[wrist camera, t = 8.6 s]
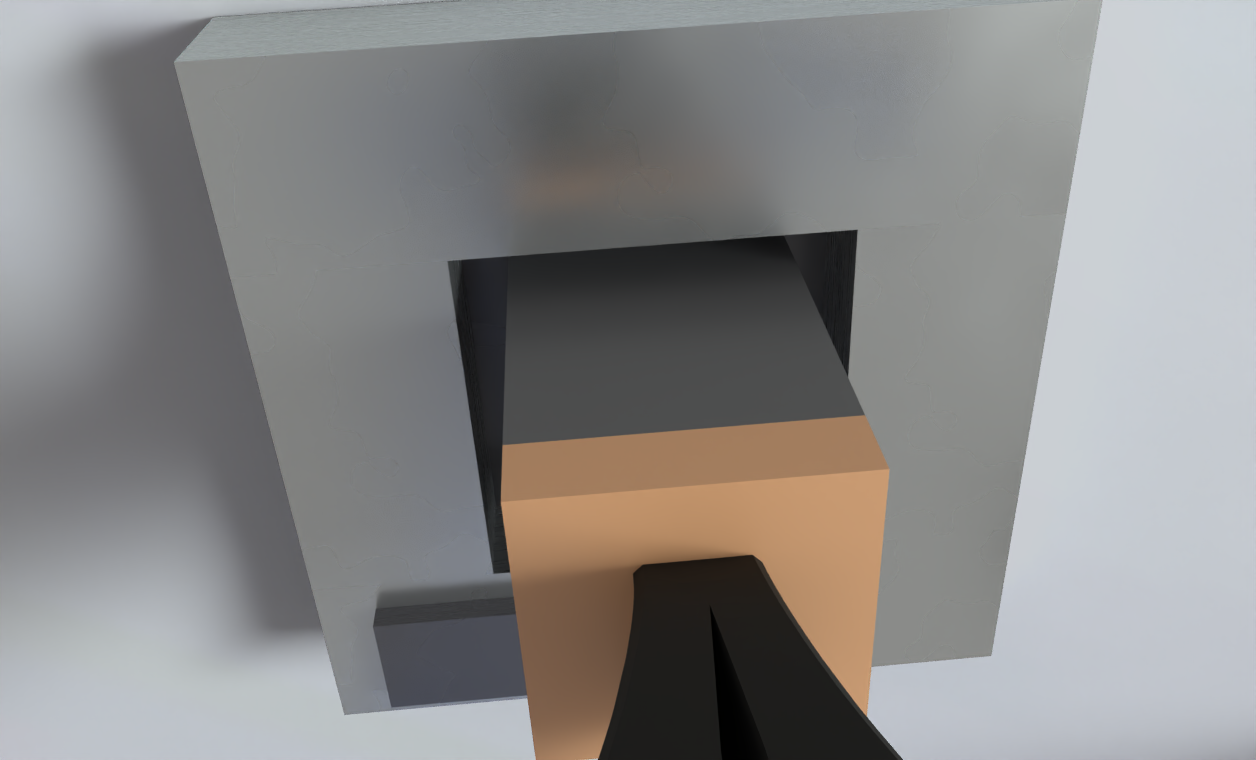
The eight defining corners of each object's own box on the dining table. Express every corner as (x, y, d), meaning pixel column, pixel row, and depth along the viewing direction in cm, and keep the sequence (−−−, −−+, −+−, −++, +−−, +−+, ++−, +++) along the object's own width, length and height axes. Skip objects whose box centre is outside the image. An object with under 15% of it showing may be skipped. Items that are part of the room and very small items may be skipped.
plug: (775, 447, 19) (865, 733, 14) (533, 467, 19) (536, 764, 14) (779, 227, 17) (889, 469, 12) (508, 247, 17) (501, 502, 12)
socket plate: (953, 576, 21) (999, 673, 19) (359, 629, 21) (340, 734, 19) (1039, -39, 15) (1117, 6, 13) (212, 16, 15) (164, 72, 13)
